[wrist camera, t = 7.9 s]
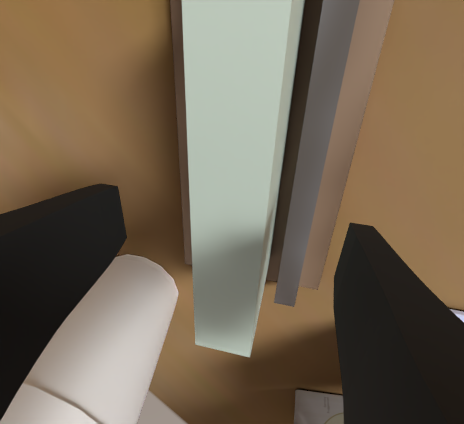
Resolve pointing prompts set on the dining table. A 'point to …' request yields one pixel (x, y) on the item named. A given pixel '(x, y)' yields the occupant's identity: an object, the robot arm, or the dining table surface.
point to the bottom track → (308, 132)
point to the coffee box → (318, 408)
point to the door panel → (235, 154)
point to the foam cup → (102, 351)
